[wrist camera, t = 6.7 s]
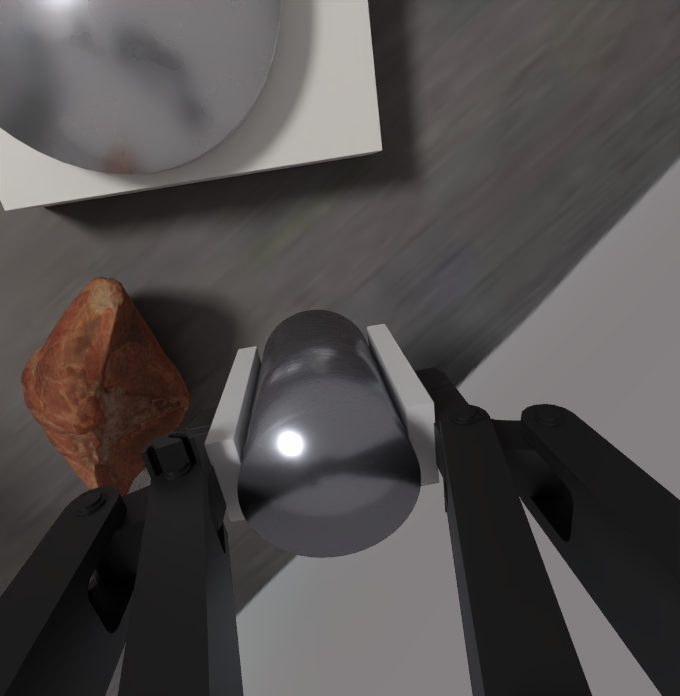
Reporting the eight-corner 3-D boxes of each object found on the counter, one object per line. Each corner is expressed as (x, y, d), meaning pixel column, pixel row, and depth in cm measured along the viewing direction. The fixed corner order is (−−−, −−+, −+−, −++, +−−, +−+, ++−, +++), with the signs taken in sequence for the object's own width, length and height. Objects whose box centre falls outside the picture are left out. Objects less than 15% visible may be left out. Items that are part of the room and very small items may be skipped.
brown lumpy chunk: (73, 230, 19) (37, 424, 14) (232, 288, 24) (249, 442, 19) (13, 365, 26) (-28, 530, 20) (147, 387, 31) (143, 521, 26)
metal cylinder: (275, 415, 18) (260, 571, 11) (252, 320, 16) (214, 430, 9) (374, 396, 18) (426, 539, 11) (362, 301, 17) (413, 394, 9)
